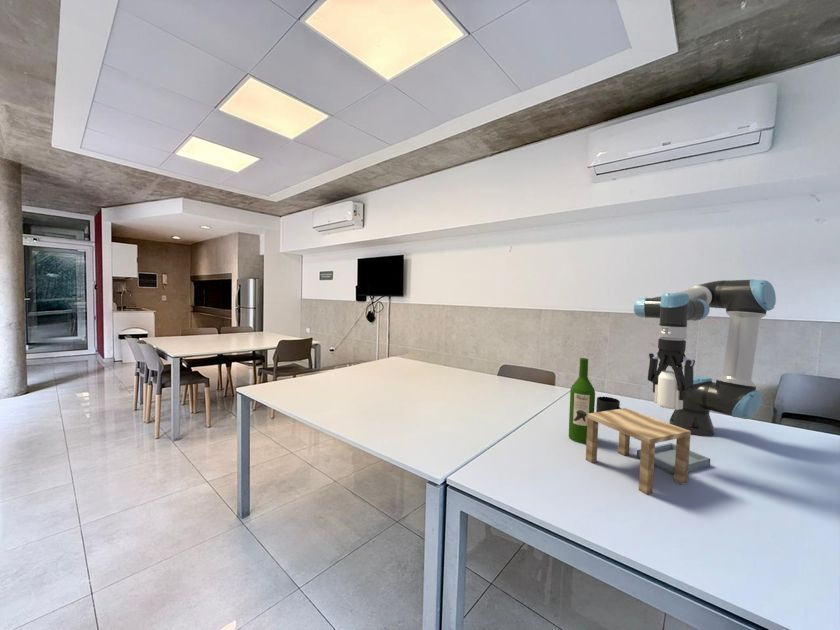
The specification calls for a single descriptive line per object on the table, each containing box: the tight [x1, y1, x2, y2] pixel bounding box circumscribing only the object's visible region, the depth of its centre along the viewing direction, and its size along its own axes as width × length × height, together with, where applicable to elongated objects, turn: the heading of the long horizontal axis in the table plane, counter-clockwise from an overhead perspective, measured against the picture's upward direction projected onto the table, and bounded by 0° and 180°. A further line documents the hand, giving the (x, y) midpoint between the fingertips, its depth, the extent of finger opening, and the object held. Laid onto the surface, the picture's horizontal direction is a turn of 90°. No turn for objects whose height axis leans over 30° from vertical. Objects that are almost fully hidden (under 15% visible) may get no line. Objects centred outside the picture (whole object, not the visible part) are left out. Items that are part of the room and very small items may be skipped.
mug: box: [595, 396, 622, 413], centre depth 159 cm, size 9×12×9 cm
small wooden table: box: [585, 407, 692, 495], centre depth 112 cm, size 18×22×16 cm
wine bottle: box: [568, 357, 596, 444], centre depth 136 cm, size 9×9×32 cm
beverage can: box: [656, 370, 679, 410], centre depth 116 cm, size 6×6×12 cm
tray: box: [636, 442, 711, 476], centre depth 119 cm, size 18×13×2 cm
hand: (668, 405), depth 117 cm, fingers closed on beverage can, 6 cm apart
